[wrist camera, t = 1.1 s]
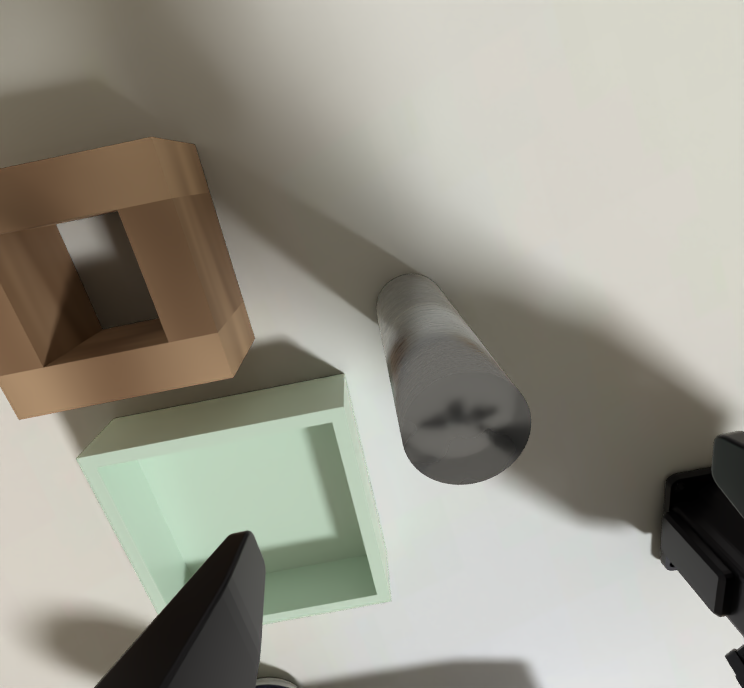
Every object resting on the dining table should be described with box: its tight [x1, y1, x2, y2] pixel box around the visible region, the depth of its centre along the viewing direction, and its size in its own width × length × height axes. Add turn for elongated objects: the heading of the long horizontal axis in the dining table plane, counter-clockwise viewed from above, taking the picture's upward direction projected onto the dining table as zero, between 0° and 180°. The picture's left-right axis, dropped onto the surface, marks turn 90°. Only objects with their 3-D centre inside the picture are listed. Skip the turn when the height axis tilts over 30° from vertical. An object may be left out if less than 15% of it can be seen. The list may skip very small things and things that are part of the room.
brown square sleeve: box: [0, 137, 255, 420], centre depth 17 cm, size 8×8×4 cm
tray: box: [76, 374, 391, 625], centre depth 21 cm, size 11×11×3 cm
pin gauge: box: [376, 274, 531, 485], centre depth 15 cm, size 3×3×10 cm
